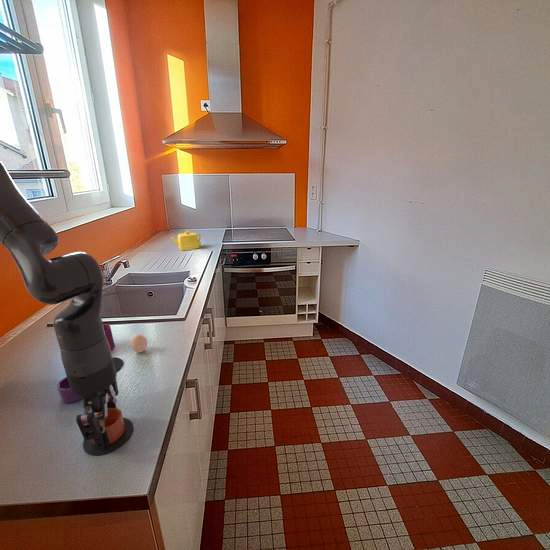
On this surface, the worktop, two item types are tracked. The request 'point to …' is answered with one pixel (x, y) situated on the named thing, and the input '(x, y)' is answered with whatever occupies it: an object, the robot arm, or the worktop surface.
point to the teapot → (187, 241)
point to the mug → (109, 335)
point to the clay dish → (113, 424)
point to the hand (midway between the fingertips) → (108, 432)
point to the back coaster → (117, 363)
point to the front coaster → (94, 451)
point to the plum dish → (67, 392)
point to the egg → (138, 343)
